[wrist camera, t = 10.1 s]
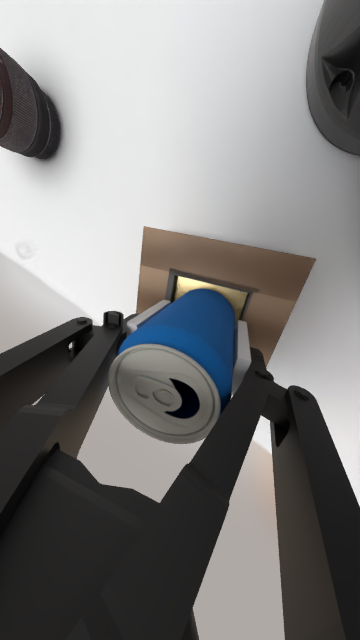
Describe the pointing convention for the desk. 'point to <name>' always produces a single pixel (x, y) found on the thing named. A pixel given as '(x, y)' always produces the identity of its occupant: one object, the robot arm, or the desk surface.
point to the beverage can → (177, 369)
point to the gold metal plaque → (231, 295)
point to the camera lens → (25, 113)
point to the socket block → (225, 278)
